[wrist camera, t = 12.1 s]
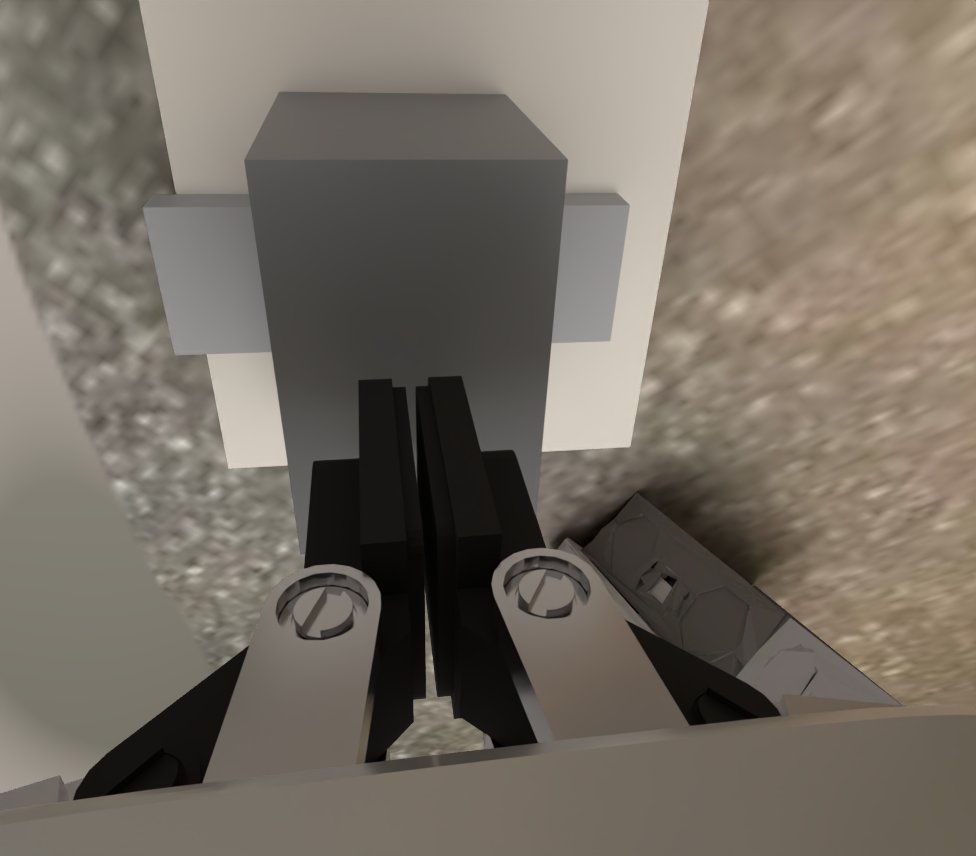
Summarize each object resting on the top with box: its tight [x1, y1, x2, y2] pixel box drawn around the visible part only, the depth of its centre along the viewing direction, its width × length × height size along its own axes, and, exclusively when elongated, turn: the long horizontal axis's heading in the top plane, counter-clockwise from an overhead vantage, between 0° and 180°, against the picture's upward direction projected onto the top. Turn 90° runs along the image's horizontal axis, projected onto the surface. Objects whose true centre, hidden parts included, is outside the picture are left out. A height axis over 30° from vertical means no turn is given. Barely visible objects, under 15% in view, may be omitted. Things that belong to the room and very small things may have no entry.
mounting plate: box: [139, 0, 709, 469], centre depth 16 cm, size 12×22×2 cm, turn 178°
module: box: [244, 92, 568, 554], centre depth 16 cm, size 5×9×6 cm, turn 178°
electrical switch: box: [557, 493, 901, 705], centre depth 24 cm, size 9×5×9 cm, turn 45°
